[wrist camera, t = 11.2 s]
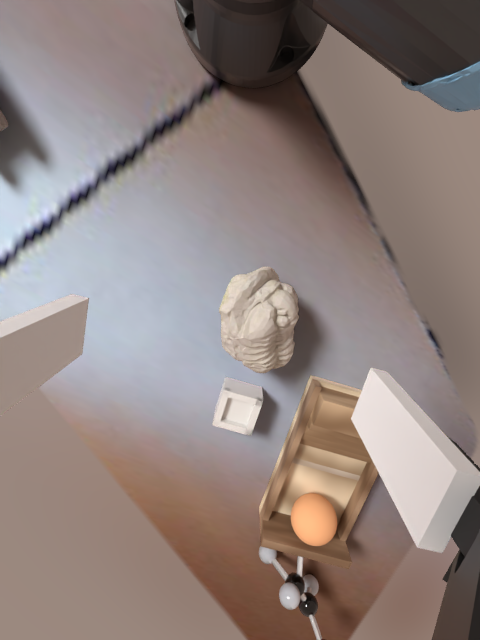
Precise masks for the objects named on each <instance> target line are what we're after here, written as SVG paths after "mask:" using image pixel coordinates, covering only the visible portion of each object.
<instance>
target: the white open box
mask: <svg viewBox="0 0 480 640" xmlns="http://www.w3.org/2000/svg"><path fill="white" fill-rule="evenodd" d="M262 403H263V393H262V387H260V386H257V385H253V384H250V383H246V382H243V381H239V380H236V379H232V378H229V377H225V380H224V383H223V386H222V389H221V392H220V396H219V399H218V402H217V405H216V408H215V413H214V419H213V424H212V425H213V426H217V427H221V428H224V429H228V430H231V431H235V432H239V433H242V434H246V435H249V436H251V434H252V432H253V429H254V426H255V423H256V420H257V418H258V415H259V412H260V409H261V406H262Z"/></svg>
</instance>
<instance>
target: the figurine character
mask: <svg viewBox="0 0 480 640" xmlns="http://www.w3.org/2000/svg"><path fill="white" fill-rule="evenodd" d="M6 127H8V122H7V120H6V118H5V116H4V115H3V113H2V112H1V111H0V132H1V131H2V130H4V129H5V128H6Z"/></svg>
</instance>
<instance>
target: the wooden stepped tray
mask: <svg viewBox="0 0 480 640" xmlns="http://www.w3.org/2000/svg"><path fill="white" fill-rule="evenodd" d="M361 392H362V390H360V389H357V388H353V387H350V386H346V385H343V384H339V383H336V382H333V381H329V380H326V379H322V378H319V377H315V376H312V375H310V378H309V380H308V383H307V385H306V388H305V391H304V393H303V396H302V398H301V401H300V403H299V406H298V409H297V411H296V414H295V416H294V419H293V422H292V424H291V427H290V429H289V432H288V434H287V437H286V440H285V442H284V445H283V447H282V450H281V453H280V455H279V458H278V460H277V463H276V465H275V468H274V471H273V473H272V476H271V478H270V481H269V484H268V486H267V489H266V491H265V494H264V496H263V499H262V502H261V504H260V507H259V516H260V538H261V547H265V548H269V549H273V550H277V551H280V552H284V553H288V554H292V555H296V556H300V557H304V558H307V559H311V560H315V561H319V562H323V563H327V564H331V565H334V566H338V567H342V568H346V569H349V568H350V566H351V564H352V561H351V557H350V554H349V551H348V548H347V545H346V542H345V541H346V539H347V537H348V535H349V533H350V531H351V529H352V527H353V525H354V523H355V521H356V519H357V517H358V515H359V513H360V510H361V508H362V506H363V504H364V502H365V500H366V498H367V496H368V494H369V492H370V490H371V488H372V486H373V484H374V482H375V480H376V478H377V475H378V473H379V472H378V470H377V468H376V467H375V465H374V463H373V461H372V459H371V457H370V455H369V453H368V451H367V449H366V447H365V445H364V443H363V441H362V439H361V437H360V435H359V433H358V432H357V430H356V428H355V426H354V424H353V422H352V420H351V417H352V415H353V412H354V409H355V407H356V404H357V402H358V399H359V397H360V394H361ZM308 493H316V494H319V495H321V496H323V497H325V498H326V499H327V500H328V501H329V502H330V503H331V504H332V506H333V508H334V510H335V512H336V516H337V529H336V533H335V535H334V537H333V538H332V539H331V540H330V541H329V542H328V543H327V544H325V545H322V546H311V545H308V544H306V543H304V542H303V541H302V540H301V539H299V537H298V536H297V535H296V533H295V532H294V530H293V527H292V524H291V510H292V507H293V505H294V503H295V501H296V500H297V499H298V498H299V497H300V496H302V495H304V494H308Z"/></svg>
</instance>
